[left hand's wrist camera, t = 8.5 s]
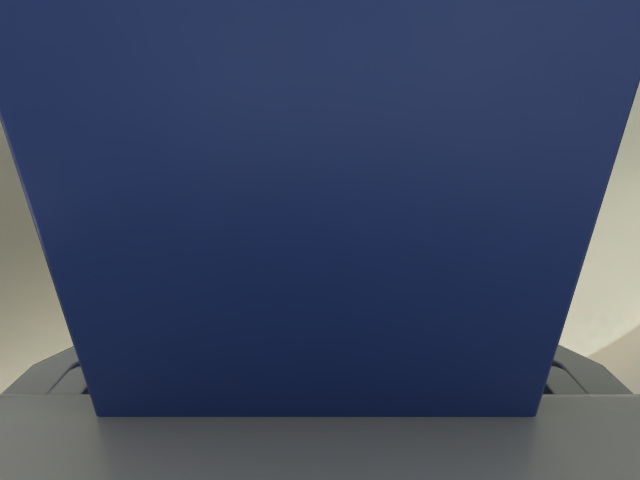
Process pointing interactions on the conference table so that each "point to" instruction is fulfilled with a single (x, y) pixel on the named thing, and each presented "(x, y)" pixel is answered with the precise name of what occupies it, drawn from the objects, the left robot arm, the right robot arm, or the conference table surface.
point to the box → (316, 194)
